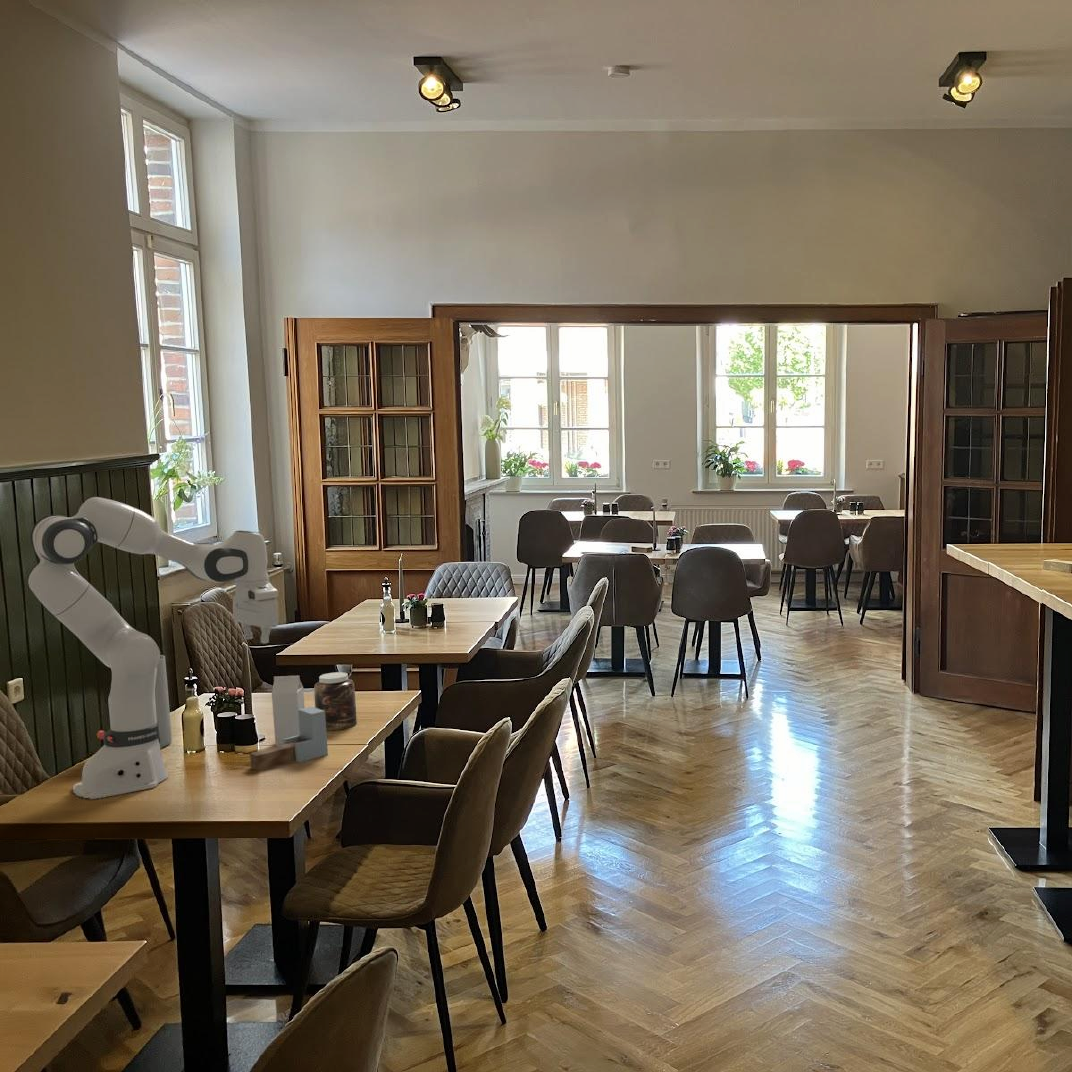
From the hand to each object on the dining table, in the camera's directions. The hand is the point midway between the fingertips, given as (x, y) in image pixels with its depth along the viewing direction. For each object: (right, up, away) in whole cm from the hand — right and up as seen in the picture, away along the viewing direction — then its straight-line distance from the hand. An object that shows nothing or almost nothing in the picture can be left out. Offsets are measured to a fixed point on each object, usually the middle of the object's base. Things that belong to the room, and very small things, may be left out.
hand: (256, 641), depth 288 cm
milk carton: (+6, -30, +13) cm, 33 cm away
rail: (+7, -32, -6) cm, 33 cm away
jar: (+16, -28, +29) cm, 43 cm away
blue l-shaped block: (+14, -31, -1) cm, 34 cm away
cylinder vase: (-35, -32, +17) cm, 50 cm away
